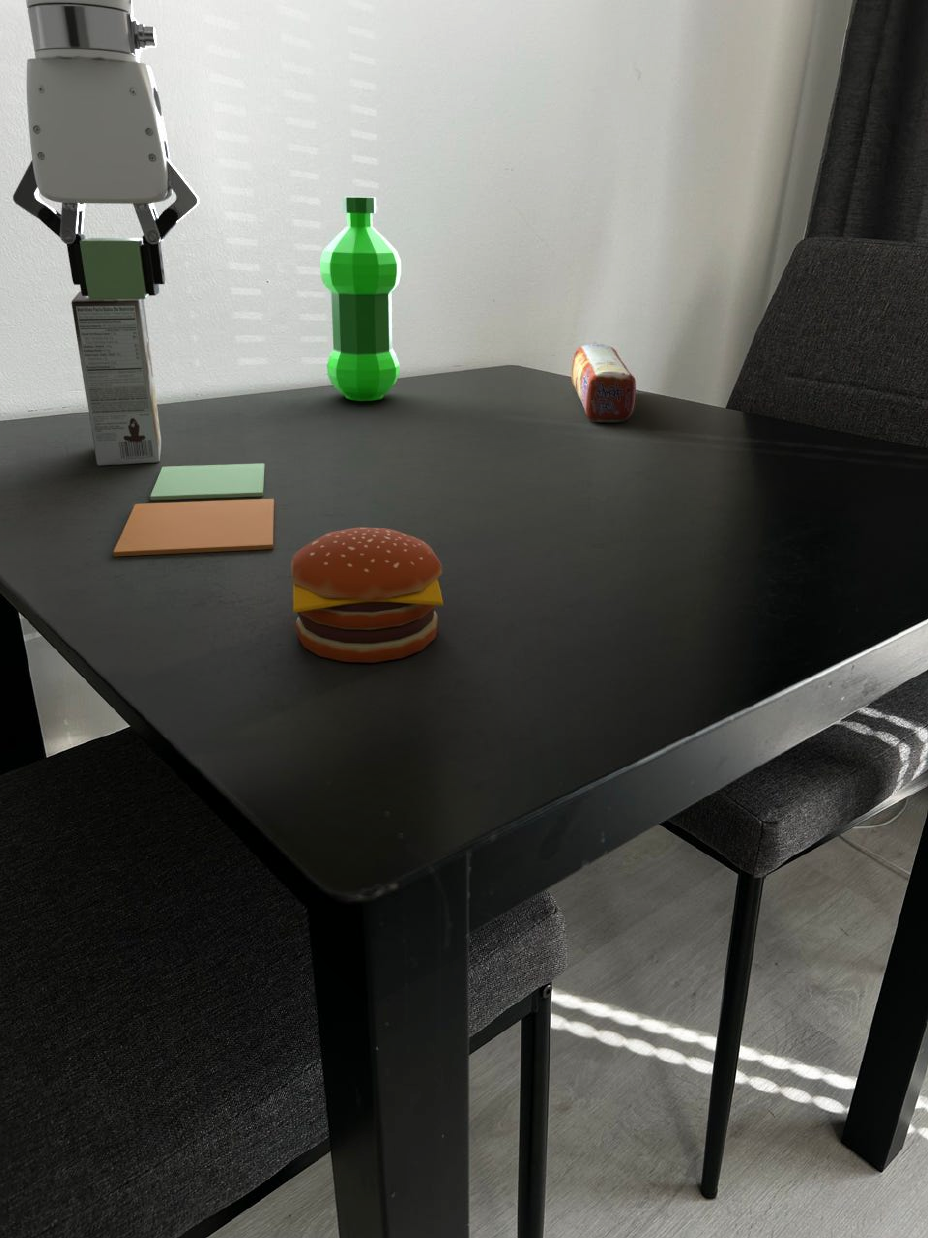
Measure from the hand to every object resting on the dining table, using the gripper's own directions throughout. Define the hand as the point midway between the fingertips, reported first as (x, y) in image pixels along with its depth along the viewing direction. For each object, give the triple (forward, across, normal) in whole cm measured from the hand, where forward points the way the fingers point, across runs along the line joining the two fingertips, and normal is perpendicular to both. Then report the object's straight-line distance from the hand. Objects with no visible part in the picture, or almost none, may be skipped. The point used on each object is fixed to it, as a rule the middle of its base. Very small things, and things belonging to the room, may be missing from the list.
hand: (121, 291), depth 77 cm
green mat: (+18, -5, -2) cm, 19 cm away
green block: (0, 0, 0) cm, 0 cm away
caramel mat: (+18, -6, +11) cm, 21 cm away
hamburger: (+18, -18, +32) cm, 41 cm away
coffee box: (+18, +4, -14) cm, 23 cm away
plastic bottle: (+18, -23, -42) cm, 51 cm away
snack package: (+18, -54, -33) cm, 66 cm away
